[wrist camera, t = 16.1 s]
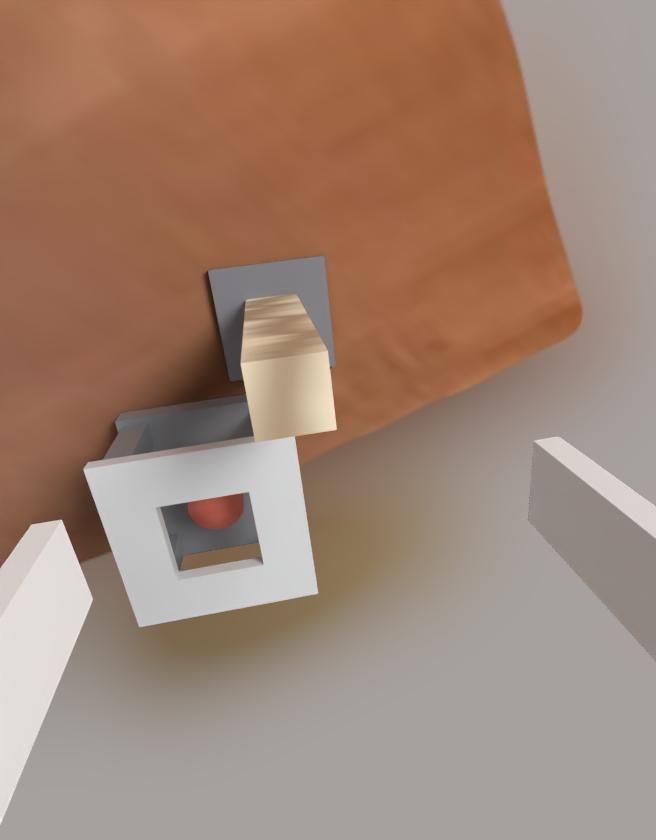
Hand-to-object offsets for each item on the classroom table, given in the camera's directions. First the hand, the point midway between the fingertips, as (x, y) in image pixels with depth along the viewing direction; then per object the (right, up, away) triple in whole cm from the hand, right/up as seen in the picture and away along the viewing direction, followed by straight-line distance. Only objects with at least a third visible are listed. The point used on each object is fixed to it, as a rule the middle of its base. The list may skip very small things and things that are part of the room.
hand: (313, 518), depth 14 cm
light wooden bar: (-4, +11, +26) cm, 28 cm away
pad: (-4, +11, +26) cm, 29 cm away
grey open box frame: (-9, -2, +31) cm, 32 cm away
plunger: (-9, -2, +30) cm, 32 cm away
